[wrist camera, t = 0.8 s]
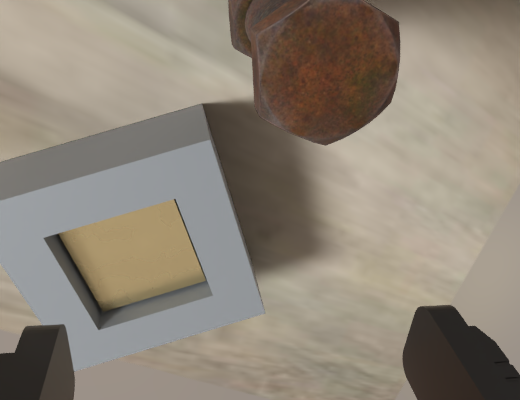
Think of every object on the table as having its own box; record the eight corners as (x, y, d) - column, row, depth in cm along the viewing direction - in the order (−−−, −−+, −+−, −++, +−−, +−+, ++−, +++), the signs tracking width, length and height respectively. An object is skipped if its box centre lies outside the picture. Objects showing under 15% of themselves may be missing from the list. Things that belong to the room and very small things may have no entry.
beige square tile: (171, 181, 31) (171, 193, 30) (204, 267, 35) (205, 280, 34) (59, 214, 31) (54, 227, 29) (105, 297, 35) (103, 311, 33)
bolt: (316, -13, 30) (435, 43, 17) (278, 63, 31) (359, 163, 19) (232, -61, 27) (295, -40, 15) (196, 22, 29) (224, 105, 17)
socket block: (202, 103, 32) (210, 139, 27) (251, 261, 39) (265, 313, 34) (-5, 163, 31) (-36, 211, 26) (85, 311, 39) (74, 371, 34)
